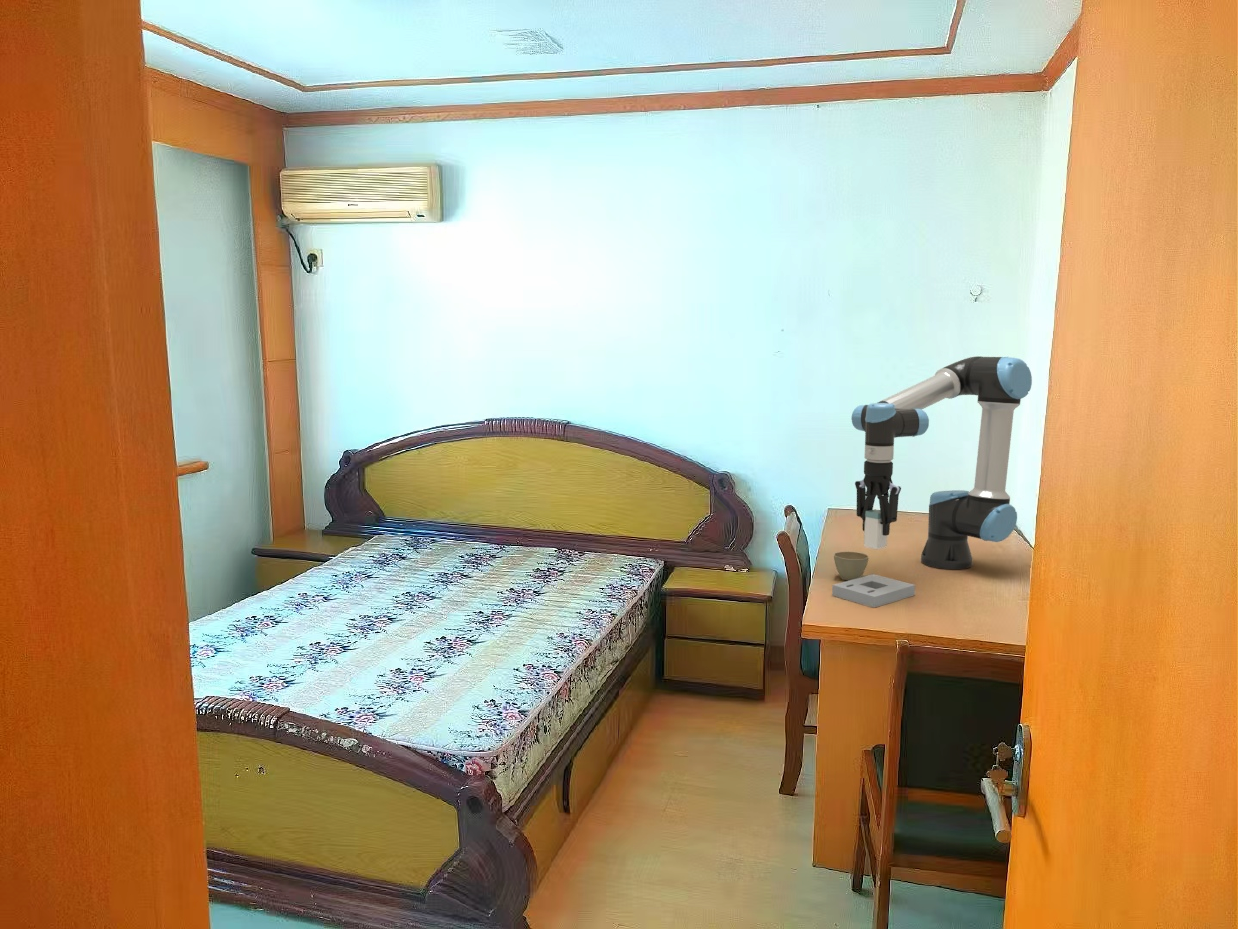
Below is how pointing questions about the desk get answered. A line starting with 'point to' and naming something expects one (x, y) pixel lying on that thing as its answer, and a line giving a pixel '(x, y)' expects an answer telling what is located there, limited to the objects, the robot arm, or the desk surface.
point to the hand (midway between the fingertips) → (875, 544)
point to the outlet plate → (873, 590)
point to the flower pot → (850, 564)
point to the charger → (872, 528)
